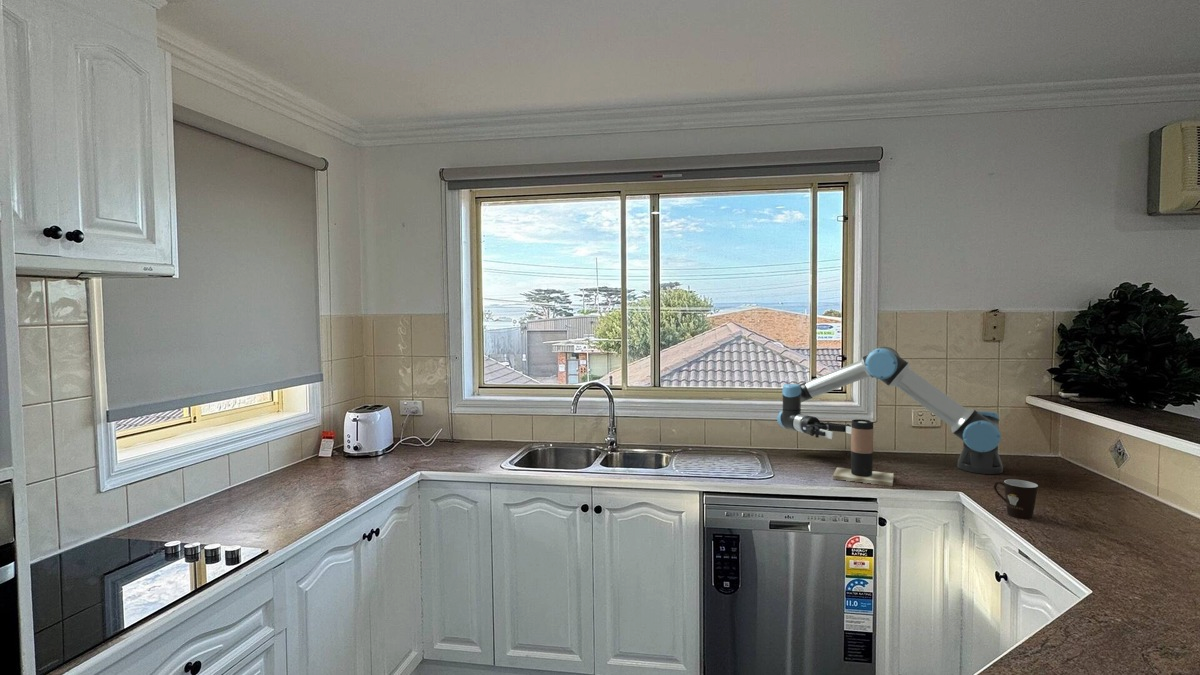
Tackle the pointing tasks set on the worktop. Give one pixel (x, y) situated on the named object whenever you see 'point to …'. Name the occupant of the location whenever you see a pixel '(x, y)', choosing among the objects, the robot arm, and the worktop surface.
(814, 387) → the robot arm
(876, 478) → the dock pad
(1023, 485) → the coffee mug
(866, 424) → the travel mug
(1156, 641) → the worktop surface
